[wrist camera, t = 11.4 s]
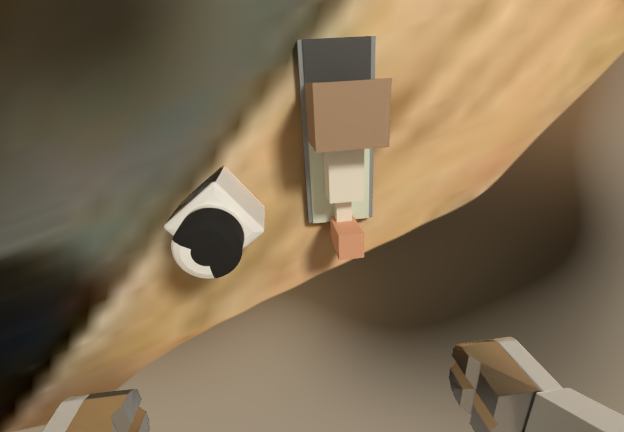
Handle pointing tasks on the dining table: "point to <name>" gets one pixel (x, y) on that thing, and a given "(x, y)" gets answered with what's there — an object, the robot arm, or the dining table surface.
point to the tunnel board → (340, 113)
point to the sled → (345, 200)
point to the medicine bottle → (215, 226)
